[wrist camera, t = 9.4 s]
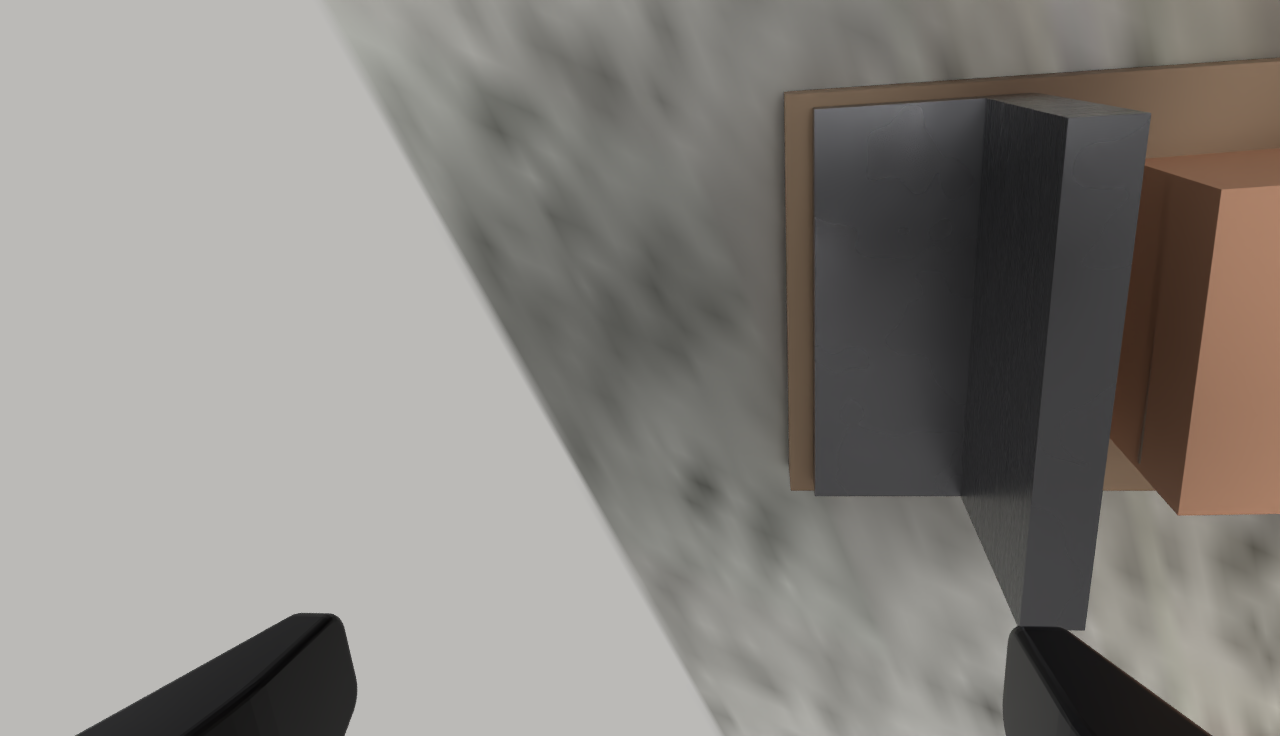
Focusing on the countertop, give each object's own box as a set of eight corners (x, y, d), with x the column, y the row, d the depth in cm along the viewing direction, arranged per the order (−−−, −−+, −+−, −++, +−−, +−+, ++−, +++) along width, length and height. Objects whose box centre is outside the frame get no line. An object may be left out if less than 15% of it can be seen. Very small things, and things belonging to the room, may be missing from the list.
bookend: (1035, 92, 16) (1151, 113, 11) (1003, 482, 18) (1084, 630, 14) (812, 106, 16) (832, 132, 12) (813, 482, 19) (830, 624, 14)
